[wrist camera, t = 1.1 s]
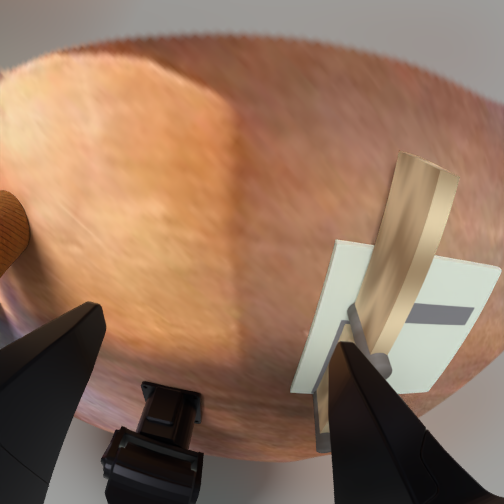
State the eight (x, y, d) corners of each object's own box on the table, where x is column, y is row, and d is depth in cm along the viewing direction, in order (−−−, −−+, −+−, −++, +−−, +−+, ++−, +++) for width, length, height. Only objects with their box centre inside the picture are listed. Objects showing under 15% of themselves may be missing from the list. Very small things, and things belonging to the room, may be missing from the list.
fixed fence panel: (325, 393, 27) (331, 452, 21) (310, 392, 27) (314, 453, 21) (359, 319, 22) (379, 389, 16) (341, 318, 22) (357, 389, 16)
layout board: (426, 387, 27) (428, 392, 26) (290, 387, 27) (290, 392, 26) (498, 266, 19) (502, 270, 18) (335, 239, 19) (337, 243, 19)
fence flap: (365, 320, 21) (385, 383, 16) (344, 318, 21) (359, 383, 16) (418, 156, 15) (475, 184, 10) (393, 148, 15) (446, 174, 10)
